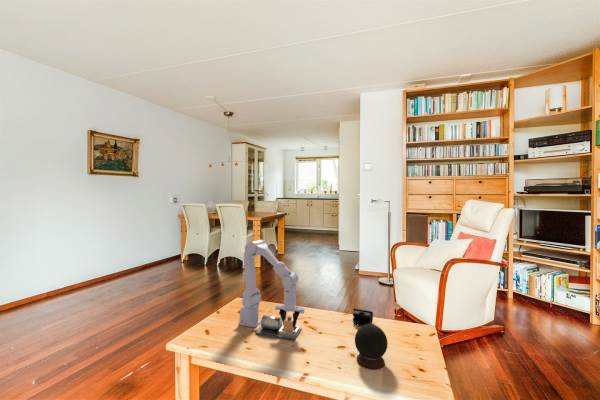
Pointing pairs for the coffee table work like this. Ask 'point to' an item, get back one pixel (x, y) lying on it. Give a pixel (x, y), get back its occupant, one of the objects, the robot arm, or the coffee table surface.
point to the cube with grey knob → (288, 324)
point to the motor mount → (276, 328)
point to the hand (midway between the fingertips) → (289, 325)
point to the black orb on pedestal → (371, 346)
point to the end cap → (362, 317)
